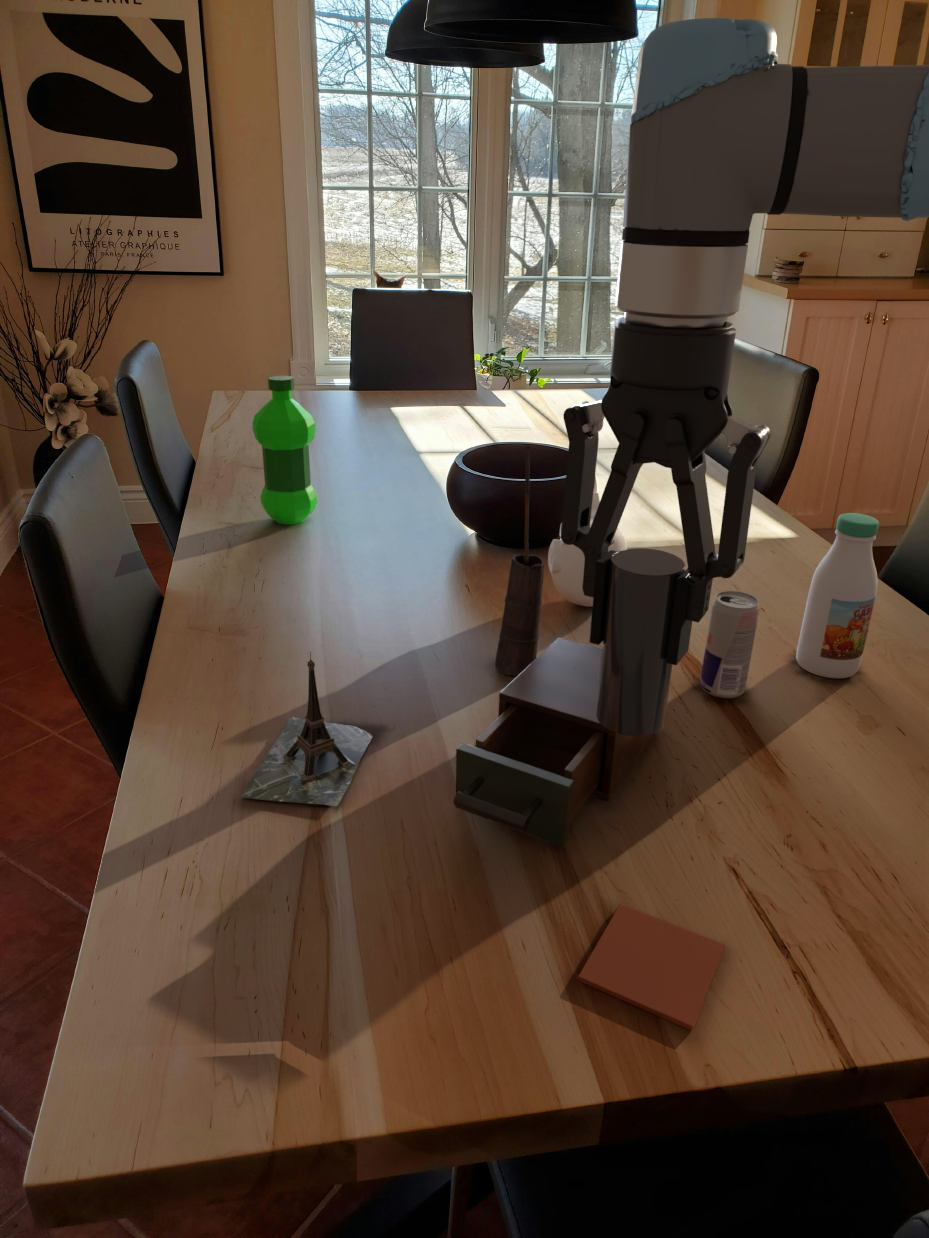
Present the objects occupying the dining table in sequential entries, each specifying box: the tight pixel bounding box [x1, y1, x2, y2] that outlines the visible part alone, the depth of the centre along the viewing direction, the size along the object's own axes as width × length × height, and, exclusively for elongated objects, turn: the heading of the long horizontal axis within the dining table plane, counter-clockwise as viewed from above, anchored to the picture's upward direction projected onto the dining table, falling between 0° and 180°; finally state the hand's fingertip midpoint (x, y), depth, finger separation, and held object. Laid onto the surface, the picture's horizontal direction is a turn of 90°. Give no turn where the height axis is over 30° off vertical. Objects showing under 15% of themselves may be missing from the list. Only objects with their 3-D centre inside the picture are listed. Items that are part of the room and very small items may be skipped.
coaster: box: [577, 903, 727, 1032], centre depth 71 cm, size 9×9×1 cm
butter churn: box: [494, 445, 545, 677], centre depth 107 cm, size 9×10×28 cm
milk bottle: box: [795, 512, 880, 679], centre depth 111 cm, size 8×8×20 cm
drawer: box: [453, 704, 608, 849], centre depth 86 cm, size 18×11×7 cm, turn 150°
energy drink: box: [699, 590, 761, 699], centre depth 107 cm, size 5×5×12 cm
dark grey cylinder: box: [596, 547, 686, 736], centre depth 66 cm, size 5×5×13 cm
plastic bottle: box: [252, 375, 318, 525], centre depth 156 cm, size 10×10×25 cm
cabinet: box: [497, 637, 656, 802], centre depth 96 cm, size 15×13×9 cm
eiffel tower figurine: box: [240, 650, 374, 807], centre depth 92 cm, size 15×10×13 cm
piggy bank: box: [547, 492, 628, 607], centre depth 128 cm, size 12×12×15 cm
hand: (638, 645), depth 66 cm, fingers closed on dark grey cylinder, 5 cm apart
